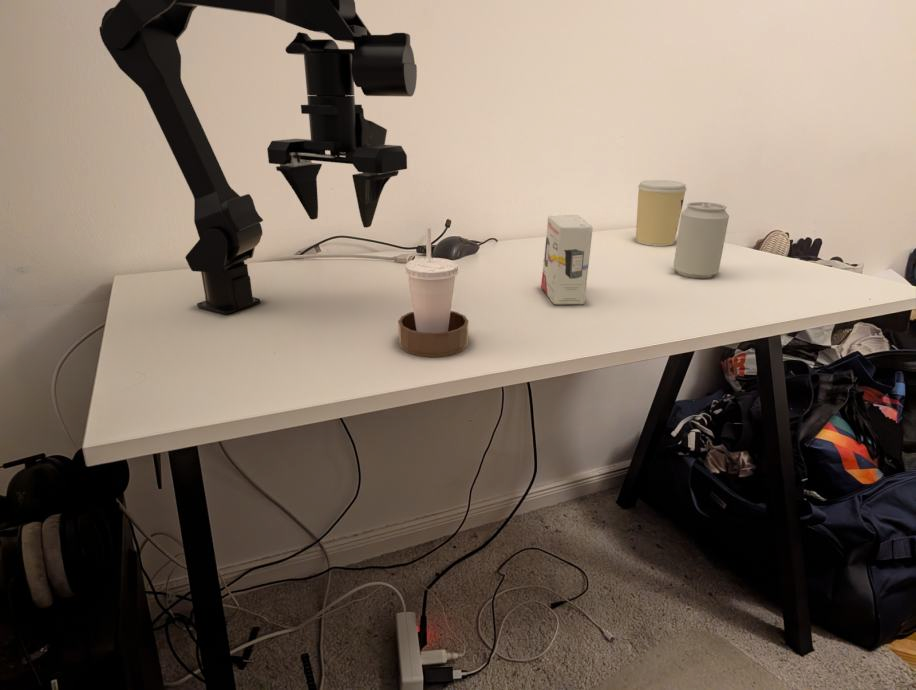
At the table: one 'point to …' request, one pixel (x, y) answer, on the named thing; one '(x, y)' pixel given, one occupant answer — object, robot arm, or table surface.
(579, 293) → the ink box
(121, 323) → the table surface
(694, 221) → the can
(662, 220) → the yellow lidded canister
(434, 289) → the smoothie
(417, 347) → the brown bowl
